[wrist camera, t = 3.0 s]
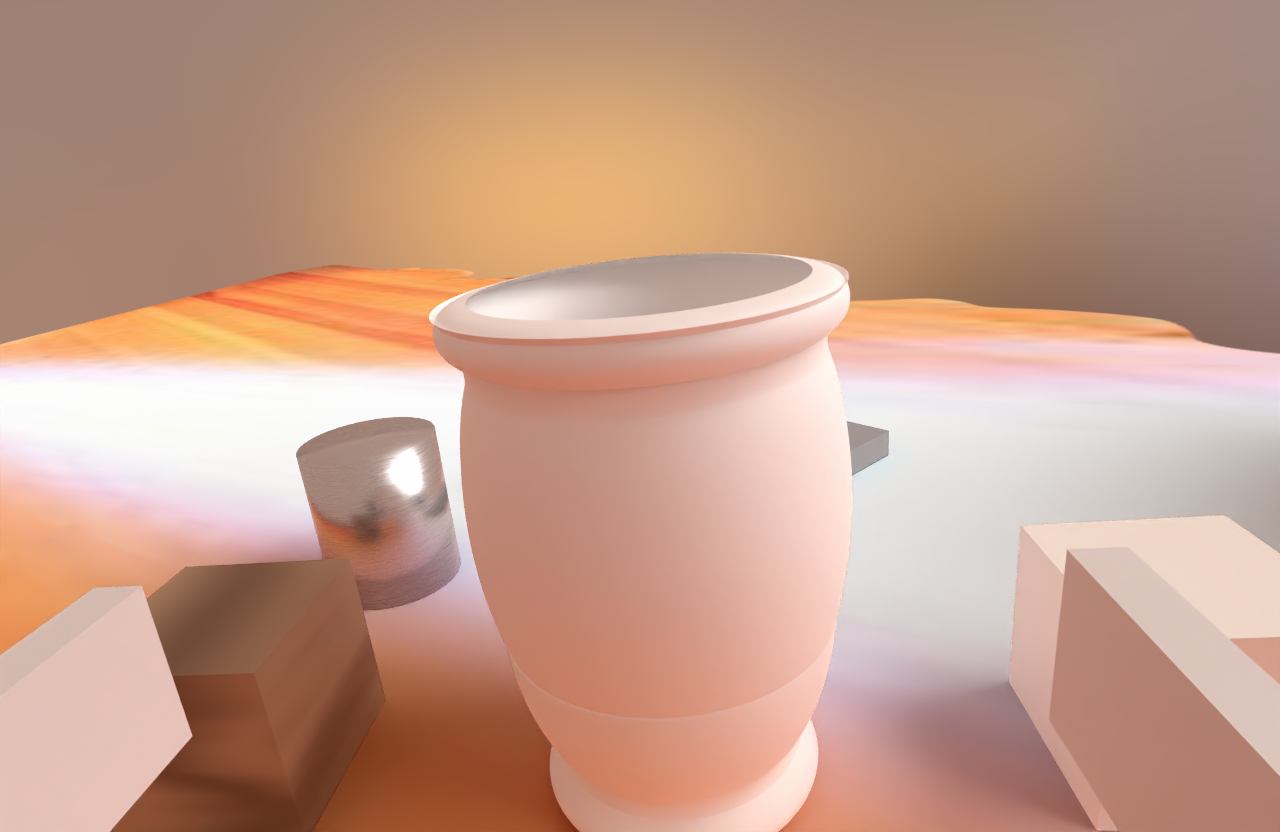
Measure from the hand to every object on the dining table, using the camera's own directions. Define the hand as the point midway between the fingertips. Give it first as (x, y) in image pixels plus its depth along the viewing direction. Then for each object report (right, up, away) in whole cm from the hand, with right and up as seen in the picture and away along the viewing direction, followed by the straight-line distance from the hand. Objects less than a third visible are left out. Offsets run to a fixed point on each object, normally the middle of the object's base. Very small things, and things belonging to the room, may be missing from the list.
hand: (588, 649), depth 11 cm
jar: (+2, -8, +13) cm, 15 cm away
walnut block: (-12, -8, +14) cm, 20 cm away
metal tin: (-11, -4, +26) cm, 28 cm away
